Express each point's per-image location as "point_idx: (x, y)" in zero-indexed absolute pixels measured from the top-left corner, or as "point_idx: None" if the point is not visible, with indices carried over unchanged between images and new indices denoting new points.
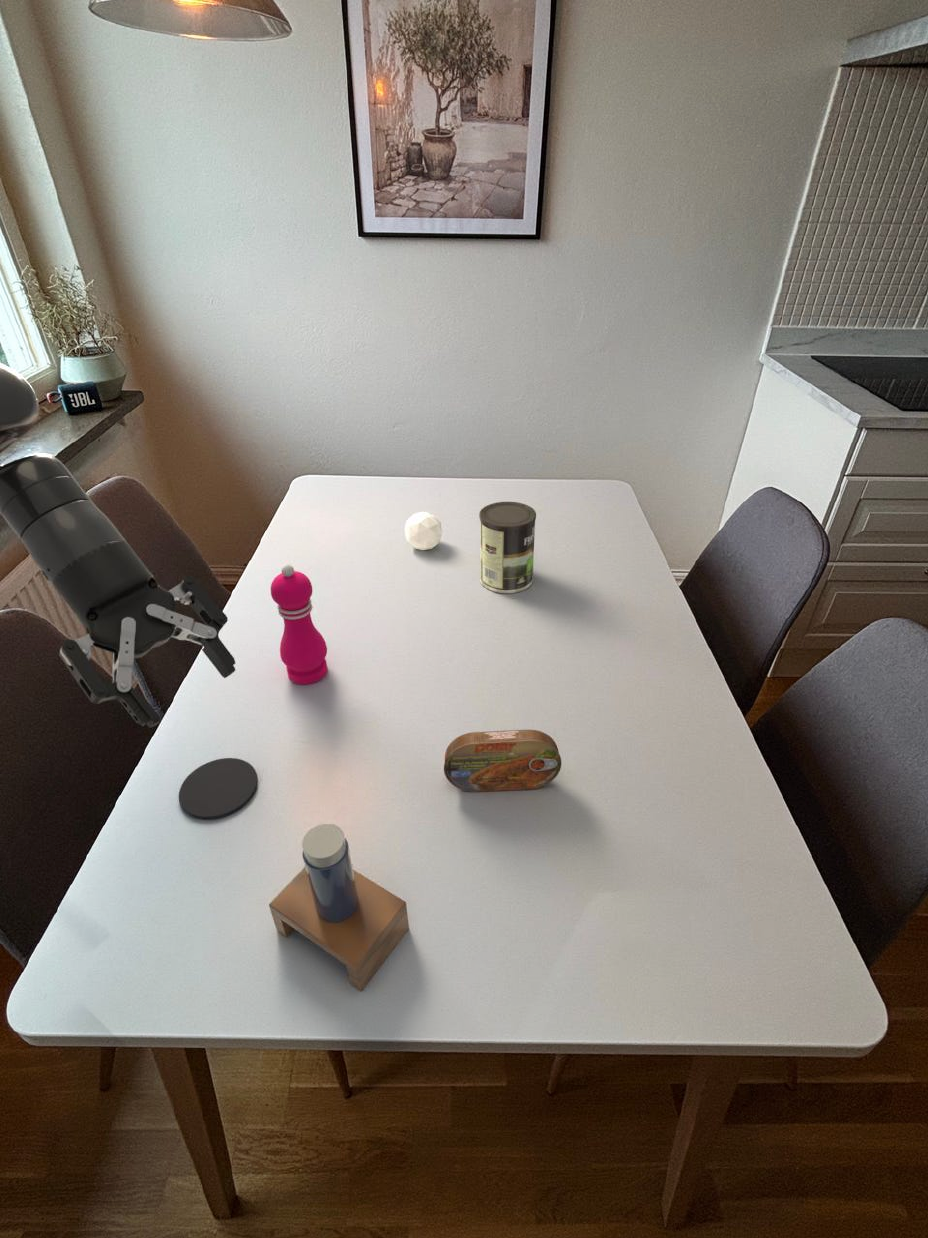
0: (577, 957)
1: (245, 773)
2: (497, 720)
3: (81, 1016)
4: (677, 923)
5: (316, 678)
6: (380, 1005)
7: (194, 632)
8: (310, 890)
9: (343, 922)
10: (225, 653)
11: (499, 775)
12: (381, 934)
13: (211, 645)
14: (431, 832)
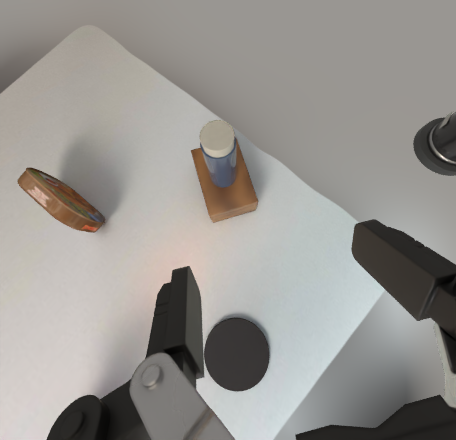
0: (145, 104)
1: (212, 350)
2: (33, 256)
3: None
4: (97, 88)
5: None
6: None
7: (201, 403)
8: (231, 193)
9: None
10: (165, 310)
11: (77, 201)
12: None
13: (181, 332)
14: (144, 206)
